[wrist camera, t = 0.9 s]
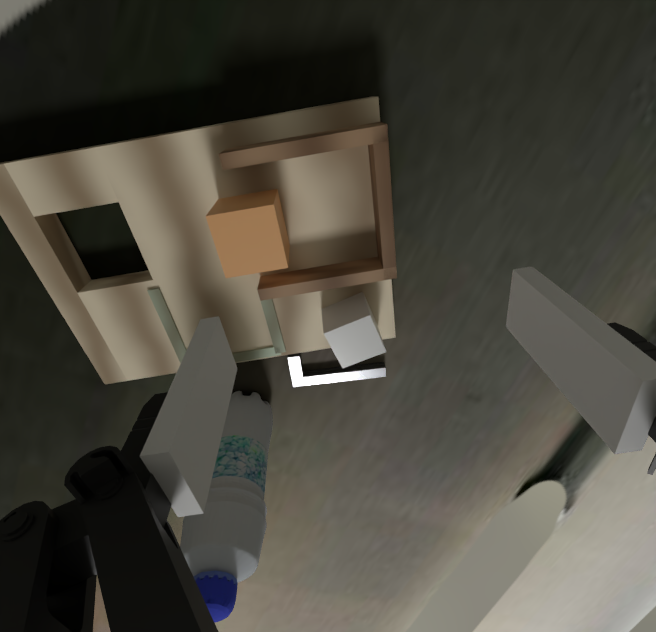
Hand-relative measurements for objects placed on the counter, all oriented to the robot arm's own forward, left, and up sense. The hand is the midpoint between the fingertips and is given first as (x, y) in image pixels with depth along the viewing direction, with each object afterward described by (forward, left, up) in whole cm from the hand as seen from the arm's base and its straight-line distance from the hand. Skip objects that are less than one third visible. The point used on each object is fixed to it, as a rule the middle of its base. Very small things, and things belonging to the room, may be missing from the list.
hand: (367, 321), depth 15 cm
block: (0, -10, -16) cm, 19 cm away
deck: (-10, -3, -19) cm, 21 cm away
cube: (-6, 0, -16) cm, 17 cm away
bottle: (-13, -21, -19) cm, 31 cm away
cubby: (-2, 0, -16) cm, 16 cm away
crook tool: (-2, -17, -19) cm, 25 cm away
